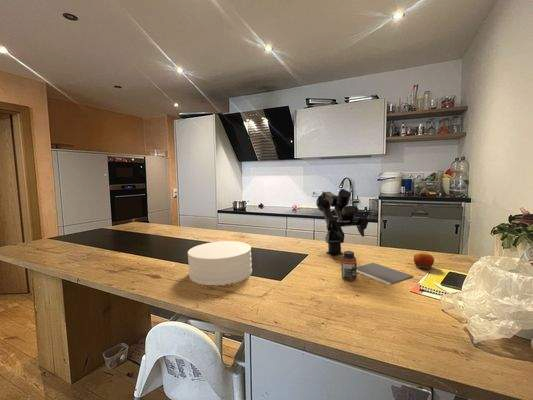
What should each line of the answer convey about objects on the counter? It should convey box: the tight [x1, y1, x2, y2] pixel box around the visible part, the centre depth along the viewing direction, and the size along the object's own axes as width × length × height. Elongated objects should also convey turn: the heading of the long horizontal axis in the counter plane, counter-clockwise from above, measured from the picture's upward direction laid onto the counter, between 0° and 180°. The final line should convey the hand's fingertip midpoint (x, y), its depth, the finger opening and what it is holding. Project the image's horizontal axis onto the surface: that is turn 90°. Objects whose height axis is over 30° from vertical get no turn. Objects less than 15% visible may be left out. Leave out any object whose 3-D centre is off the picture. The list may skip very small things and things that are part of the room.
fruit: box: [413, 251, 435, 271], centre depth 121 cm, size 8×8×8 cm
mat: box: [357, 262, 414, 286], centre depth 116 cm, size 20×16×1 cm
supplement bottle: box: [341, 250, 358, 282], centre depth 111 cm, size 6×6×11 cm
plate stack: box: [187, 240, 253, 286], centre depth 122 cm, size 28×28×12 cm
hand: (353, 236), depth 118 cm, fingers open, 9 cm apart
